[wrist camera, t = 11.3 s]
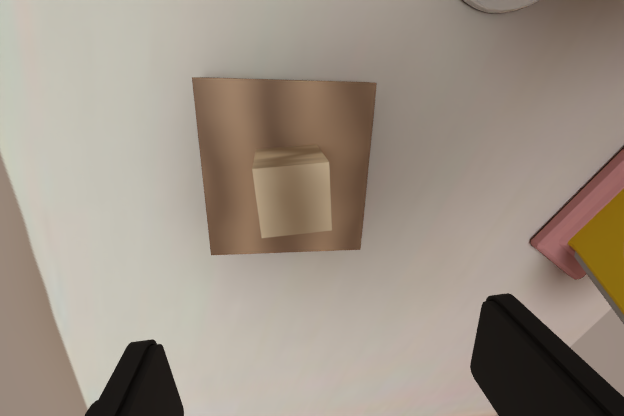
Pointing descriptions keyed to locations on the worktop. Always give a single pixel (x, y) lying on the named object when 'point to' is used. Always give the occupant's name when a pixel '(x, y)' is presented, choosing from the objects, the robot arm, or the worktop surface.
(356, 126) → the brown wooden flat block
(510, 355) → the robot arm
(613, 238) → the pink and yellow block
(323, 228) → the maple block
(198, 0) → the worktop surface
